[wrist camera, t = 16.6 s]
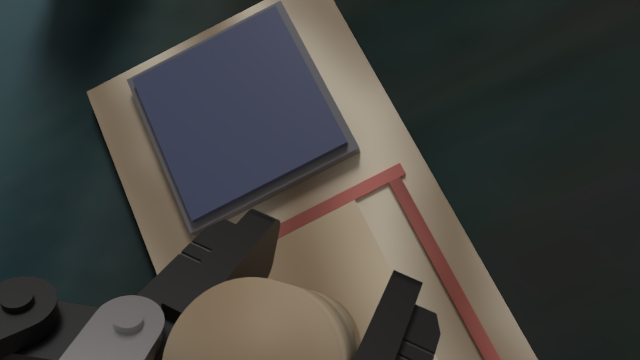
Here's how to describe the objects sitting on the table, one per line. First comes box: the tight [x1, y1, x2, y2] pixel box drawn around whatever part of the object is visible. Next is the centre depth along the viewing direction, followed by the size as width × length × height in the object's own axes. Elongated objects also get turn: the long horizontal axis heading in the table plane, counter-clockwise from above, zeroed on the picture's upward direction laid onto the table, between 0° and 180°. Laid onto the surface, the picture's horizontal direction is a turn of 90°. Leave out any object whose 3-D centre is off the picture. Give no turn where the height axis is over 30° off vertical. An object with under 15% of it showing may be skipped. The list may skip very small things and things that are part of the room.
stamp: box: [162, 200, 438, 360], centre depth 13 cm, size 6×6×8 cm
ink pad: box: [127, 0, 360, 236], centre depth 27 cm, size 9×9×1 cm
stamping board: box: [87, 0, 538, 360], centre depth 26 cm, size 14×24×1 cm, turn 26°
